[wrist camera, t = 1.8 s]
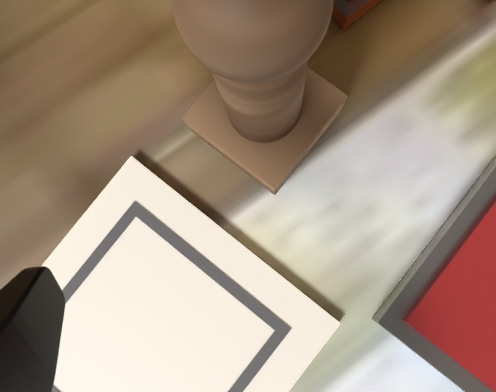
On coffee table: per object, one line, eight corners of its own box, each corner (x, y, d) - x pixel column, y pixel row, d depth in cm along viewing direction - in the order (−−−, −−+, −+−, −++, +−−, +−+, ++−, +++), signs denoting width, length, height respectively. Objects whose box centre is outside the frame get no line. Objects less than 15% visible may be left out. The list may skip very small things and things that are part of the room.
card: (166, 548, 20) (163, 555, 19) (-33, 361, 21) (-40, 364, 21) (339, 322, 20) (340, 323, 20) (133, 157, 22) (130, 155, 21)
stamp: (274, 197, 21) (267, 114, 9) (194, 135, 22) (79, -26, 9) (338, 116, 21) (420, -78, 9) (257, 57, 22) (228, -202, 10)
